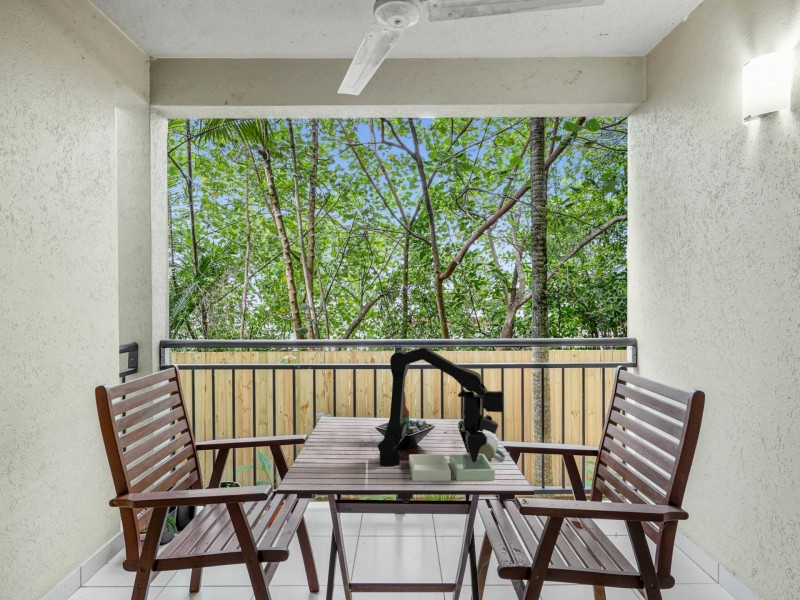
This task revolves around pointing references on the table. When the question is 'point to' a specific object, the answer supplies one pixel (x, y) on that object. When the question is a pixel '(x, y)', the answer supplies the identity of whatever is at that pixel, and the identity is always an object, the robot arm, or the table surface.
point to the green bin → (479, 474)
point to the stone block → (469, 463)
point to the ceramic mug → (491, 449)
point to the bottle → (405, 414)
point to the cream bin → (429, 467)
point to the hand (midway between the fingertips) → (471, 457)
